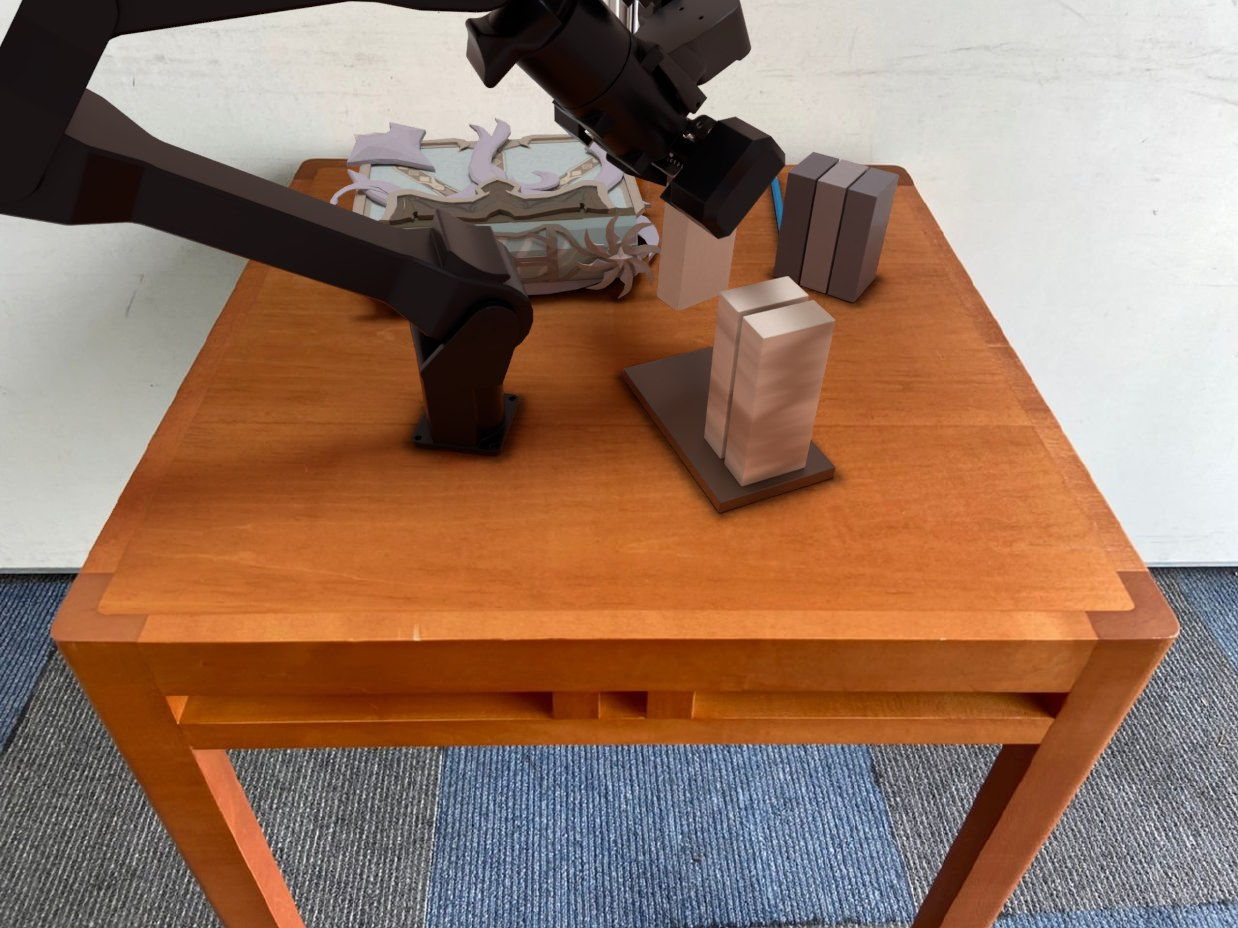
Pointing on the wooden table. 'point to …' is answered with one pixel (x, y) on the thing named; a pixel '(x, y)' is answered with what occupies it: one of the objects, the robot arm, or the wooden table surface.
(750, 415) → the white book rack
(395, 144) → the ornate book
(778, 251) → the grey books
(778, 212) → the pencil
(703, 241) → the white book
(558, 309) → the wooden table surface
